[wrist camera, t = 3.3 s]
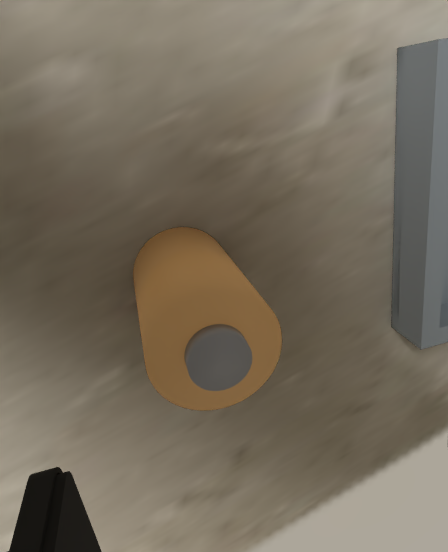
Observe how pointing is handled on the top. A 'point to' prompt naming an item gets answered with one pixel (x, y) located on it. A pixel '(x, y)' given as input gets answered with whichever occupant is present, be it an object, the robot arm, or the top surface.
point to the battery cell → (201, 322)
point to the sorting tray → (421, 195)
